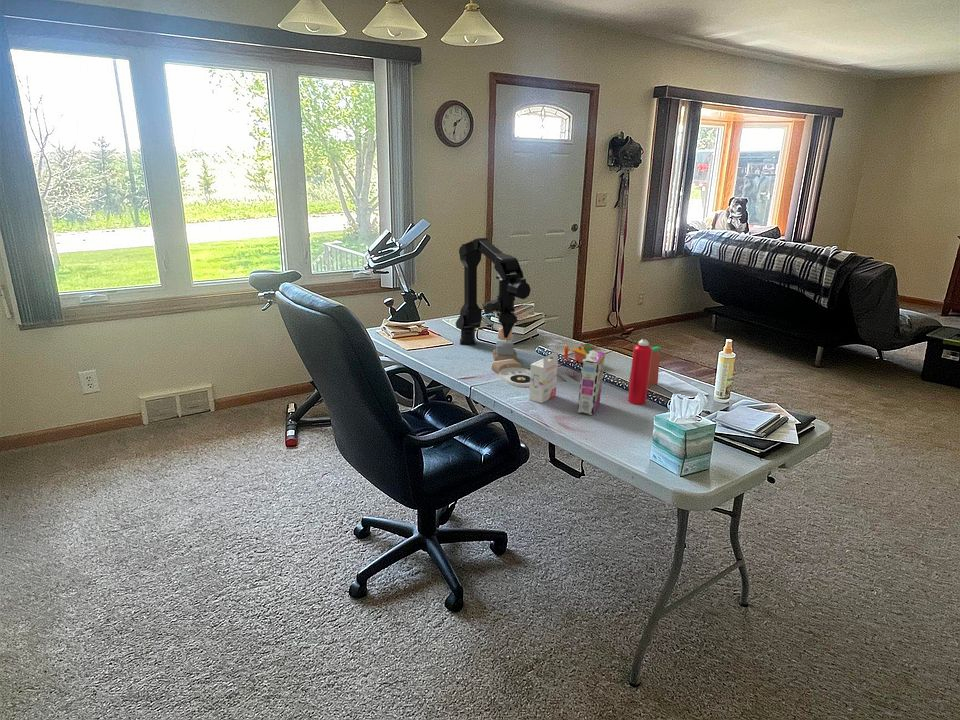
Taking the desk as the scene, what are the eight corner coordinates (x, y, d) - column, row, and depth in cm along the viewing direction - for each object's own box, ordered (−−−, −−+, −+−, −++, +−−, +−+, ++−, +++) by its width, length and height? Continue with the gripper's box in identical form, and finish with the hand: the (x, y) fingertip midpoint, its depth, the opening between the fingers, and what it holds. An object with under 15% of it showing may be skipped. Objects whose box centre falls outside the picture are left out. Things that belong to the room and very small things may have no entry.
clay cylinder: (497, 336, 212) (498, 325, 210) (511, 336, 212) (511, 325, 210) (498, 340, 207) (498, 329, 206) (512, 340, 207) (512, 329, 206)
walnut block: (493, 358, 216) (493, 349, 215) (514, 358, 217) (514, 349, 216) (494, 365, 209) (495, 356, 208) (516, 365, 209) (517, 356, 208)
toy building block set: (632, 391, 186) (637, 350, 181) (558, 361, 213) (561, 324, 208) (657, 384, 193) (662, 343, 188) (583, 356, 220) (586, 320, 215)
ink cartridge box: (542, 391, 184) (545, 347, 179) (556, 395, 181) (559, 351, 177) (528, 399, 178) (530, 354, 173) (542, 403, 175) (544, 358, 170)
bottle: (643, 398, 181) (650, 336, 174) (648, 404, 175) (655, 342, 169) (626, 397, 181) (632, 336, 174) (630, 404, 175) (637, 341, 169)
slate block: (496, 350, 214) (496, 341, 213) (512, 350, 214) (512, 341, 213) (497, 355, 209) (497, 346, 207) (513, 355, 209) (514, 346, 208)
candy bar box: (594, 416, 167) (598, 362, 161) (577, 413, 168) (581, 360, 163) (601, 402, 177) (605, 351, 171) (584, 399, 178) (589, 349, 173)
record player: (516, 358, 207) (546, 376, 190) (516, 366, 208) (546, 385, 191) (487, 362, 202) (515, 381, 185) (487, 370, 203) (515, 390, 186)
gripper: (482, 287, 212) (481, 328, 217) (485, 299, 195) (484, 343, 200) (512, 287, 213) (511, 328, 218) (518, 299, 195) (516, 343, 200)
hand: (505, 335), depth 209 cm, fingers closed on clay cylinder, 5 cm apart
